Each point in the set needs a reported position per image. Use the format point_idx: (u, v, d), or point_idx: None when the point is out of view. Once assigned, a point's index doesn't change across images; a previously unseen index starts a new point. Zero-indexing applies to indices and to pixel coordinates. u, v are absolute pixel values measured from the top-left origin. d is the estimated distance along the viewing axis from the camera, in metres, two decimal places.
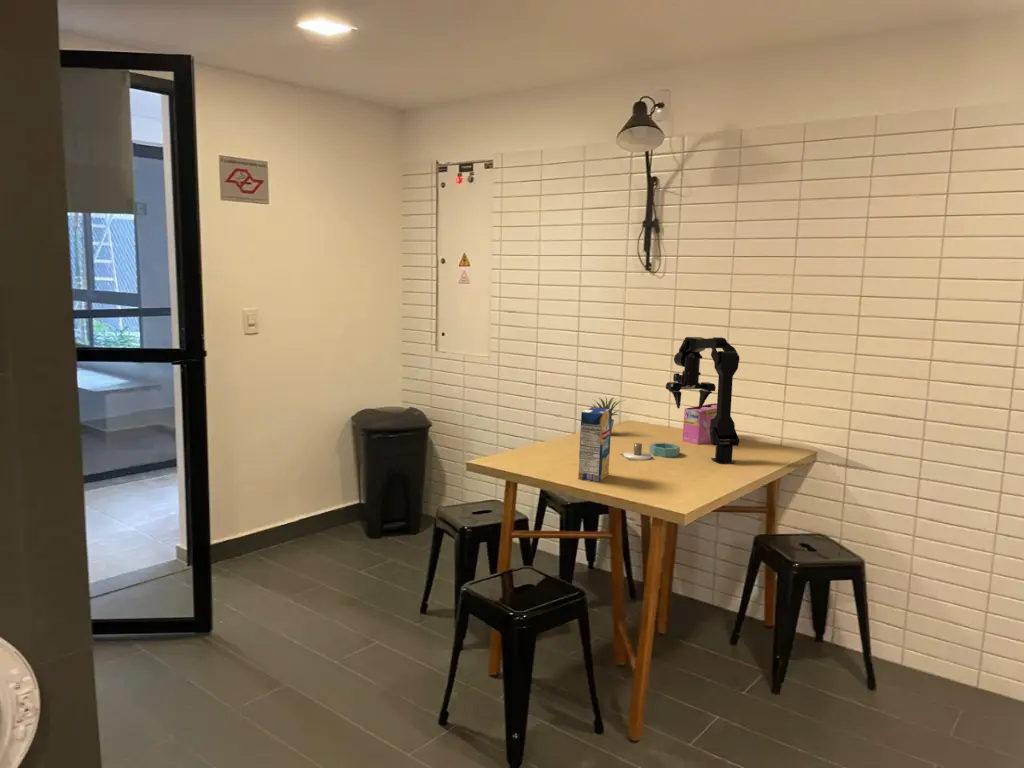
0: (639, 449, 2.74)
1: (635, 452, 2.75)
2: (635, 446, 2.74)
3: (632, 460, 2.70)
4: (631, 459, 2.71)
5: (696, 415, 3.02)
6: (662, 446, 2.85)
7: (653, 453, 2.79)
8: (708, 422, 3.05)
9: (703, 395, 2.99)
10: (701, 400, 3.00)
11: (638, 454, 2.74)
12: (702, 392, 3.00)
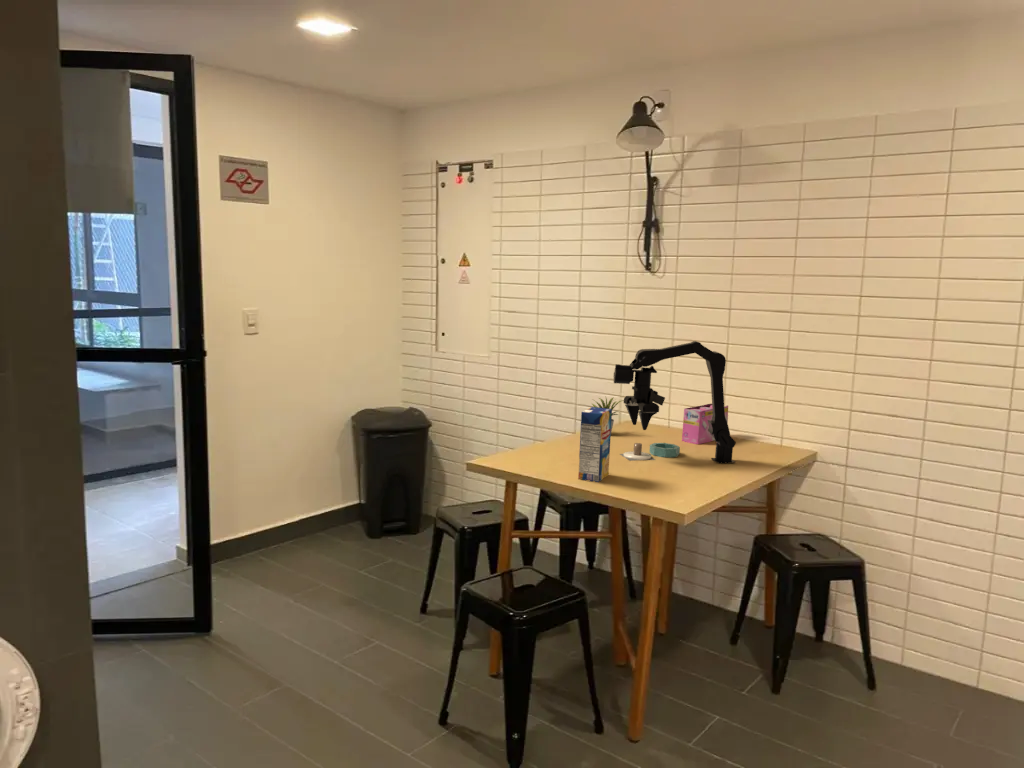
0: (639, 449, 2.74)
1: (635, 452, 2.75)
2: (635, 446, 2.74)
3: (632, 460, 2.70)
4: (631, 459, 2.71)
5: (695, 415, 3.02)
6: (662, 446, 2.85)
7: (653, 453, 2.79)
8: None
9: None
10: None
11: (638, 454, 2.74)
12: None
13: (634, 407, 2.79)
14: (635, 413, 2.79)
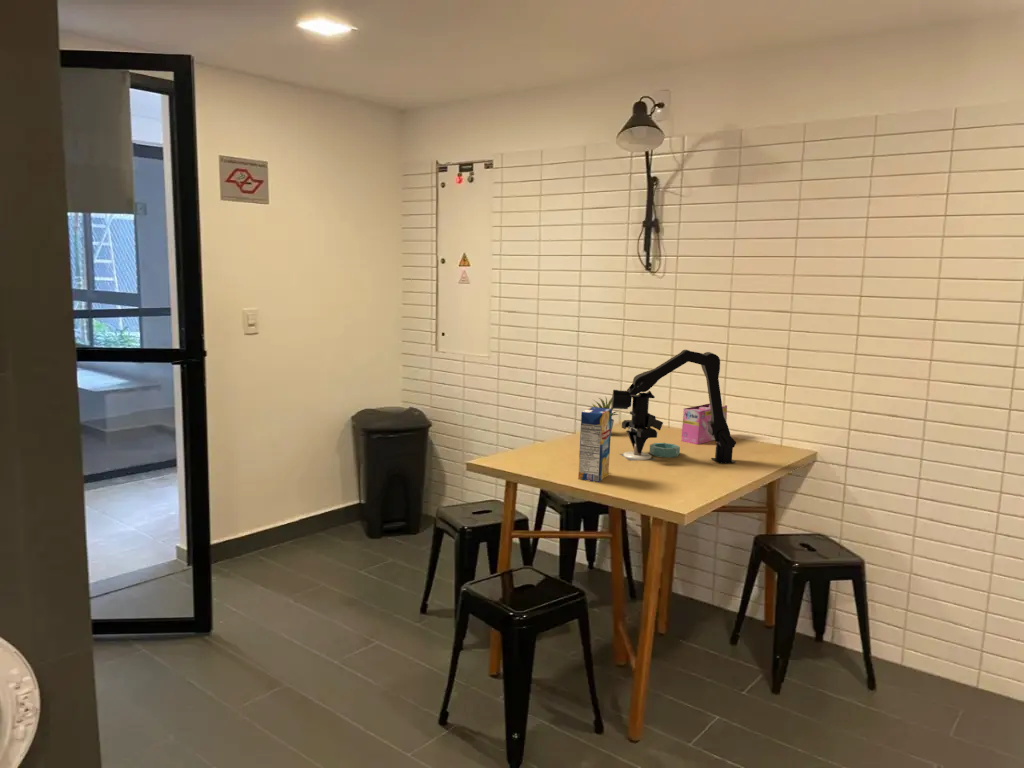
0: None
1: (635, 452, 2.75)
2: (635, 446, 2.74)
3: (632, 460, 2.70)
4: (631, 459, 2.71)
5: (695, 415, 3.02)
6: (662, 446, 2.85)
7: (653, 453, 2.79)
8: None
9: None
10: None
11: (638, 454, 2.74)
12: None
13: (635, 433, 2.77)
14: None
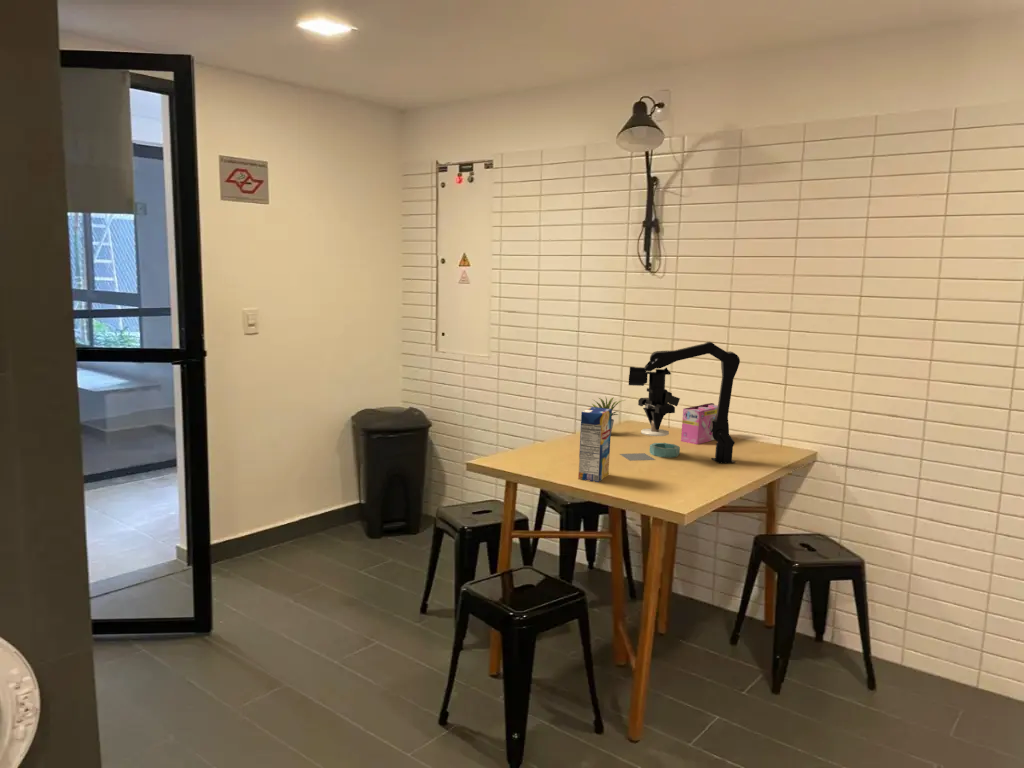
0: None
1: (653, 428, 2.77)
2: (652, 422, 2.76)
3: (632, 460, 2.70)
4: (631, 459, 2.71)
5: (695, 415, 3.02)
6: (662, 446, 2.85)
7: (653, 453, 2.79)
8: (707, 422, 3.06)
9: None
10: None
11: (656, 430, 2.76)
12: None
13: (652, 410, 2.79)
14: None
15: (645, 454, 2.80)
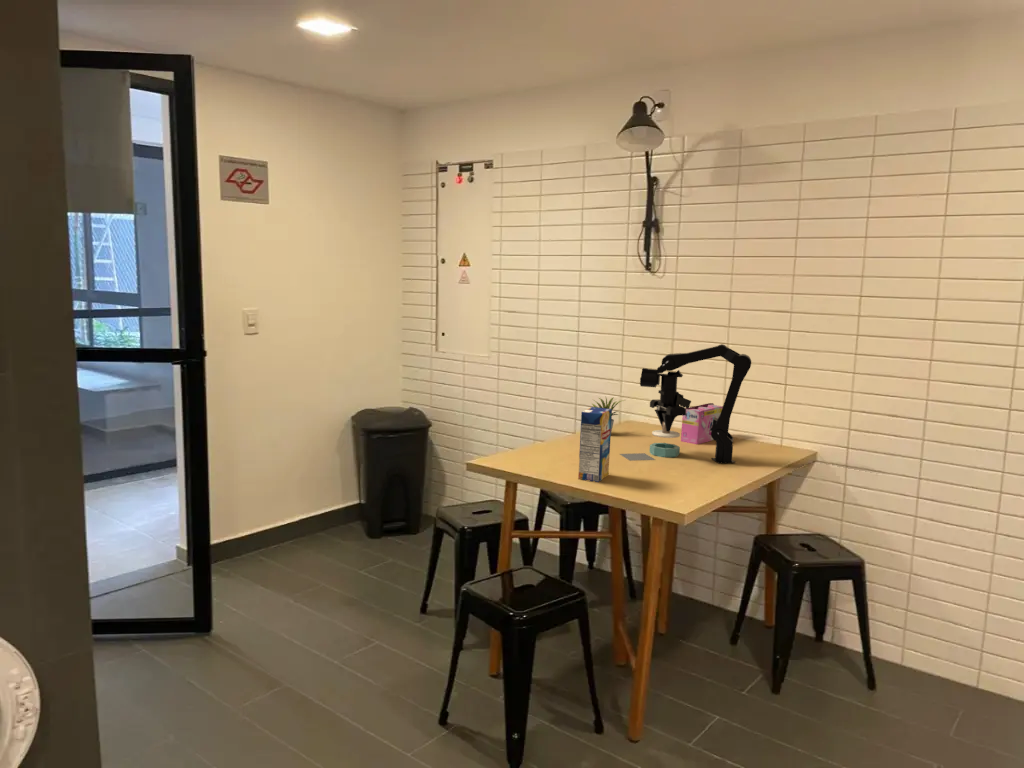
0: None
1: (664, 430, 2.79)
2: (664, 424, 2.79)
3: (632, 460, 2.70)
4: (631, 459, 2.71)
5: (694, 415, 3.02)
6: (662, 446, 2.85)
7: (653, 453, 2.79)
8: (706, 422, 3.06)
9: None
10: None
11: (667, 432, 2.79)
12: None
13: (664, 412, 2.81)
14: None
15: (645, 454, 2.80)
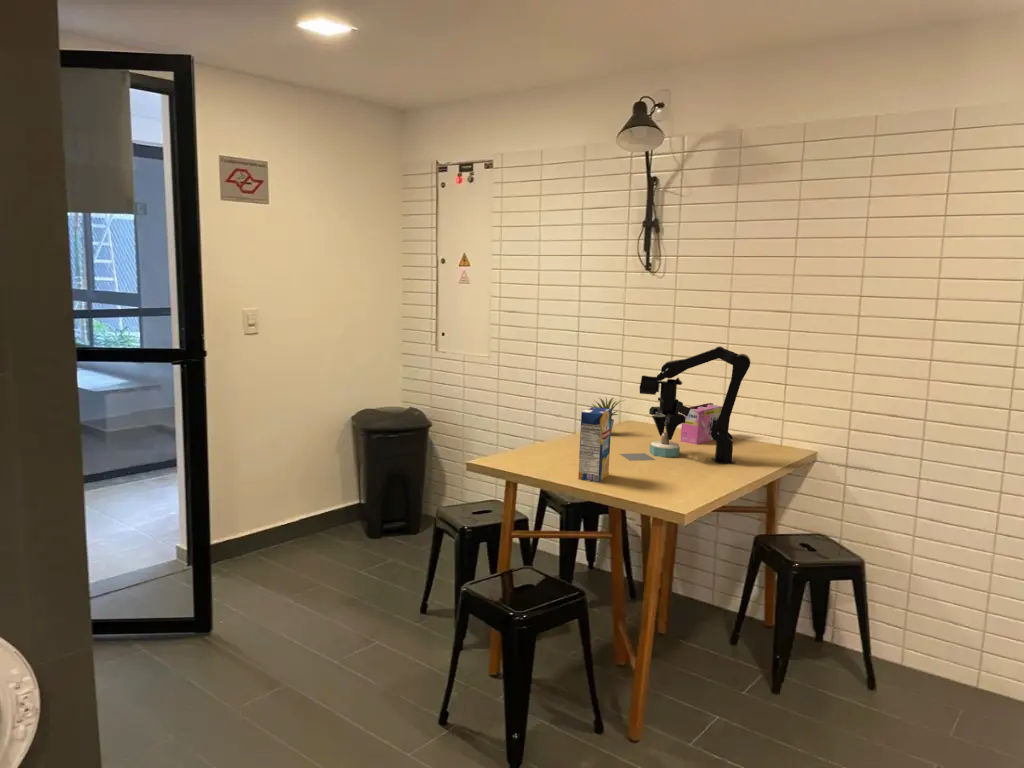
0: (667, 438, 2.79)
1: (663, 441, 2.80)
2: (663, 435, 2.80)
3: (632, 460, 2.70)
4: (631, 459, 2.71)
5: (694, 415, 3.02)
6: None
7: (653, 453, 2.79)
8: (706, 422, 3.06)
9: None
10: None
11: (666, 443, 2.80)
12: None
13: (661, 418, 2.84)
14: (662, 424, 2.84)
15: (645, 454, 2.80)
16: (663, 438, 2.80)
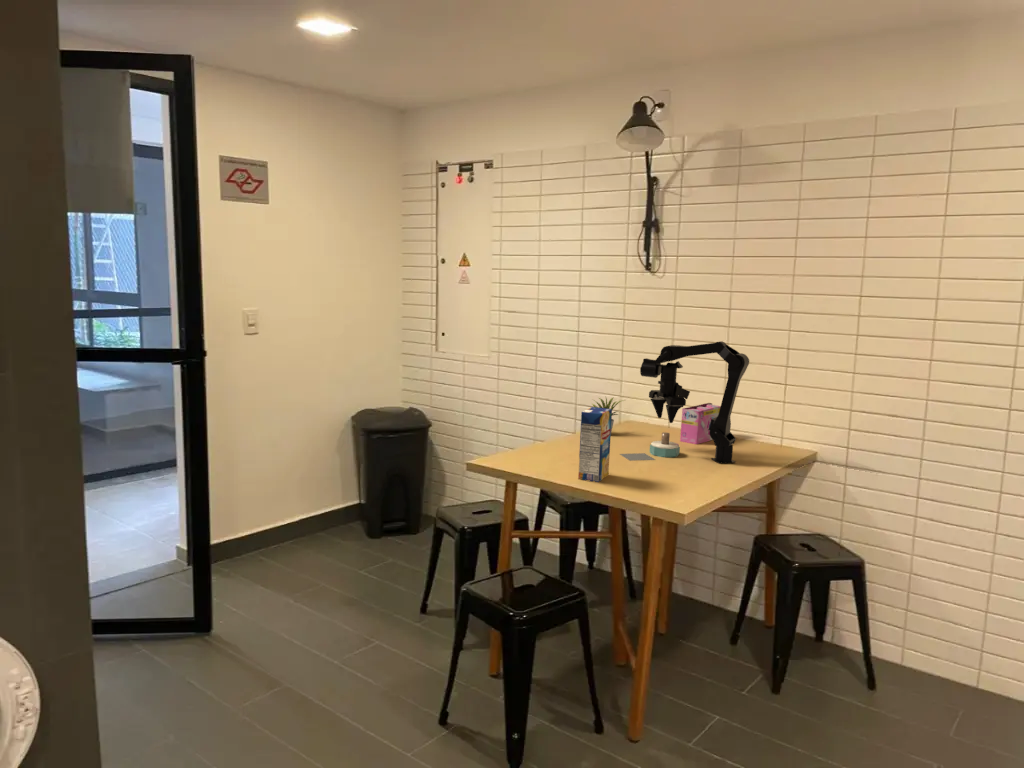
0: (667, 438, 2.79)
1: (663, 441, 2.80)
2: (663, 435, 2.80)
3: (632, 460, 2.70)
4: (631, 459, 2.71)
5: (694, 415, 3.02)
6: None
7: (653, 453, 2.79)
8: (706, 422, 3.06)
9: None
10: None
11: (666, 443, 2.80)
12: None
13: (659, 401, 2.89)
14: (661, 407, 2.89)
15: (645, 454, 2.80)
16: (663, 438, 2.80)
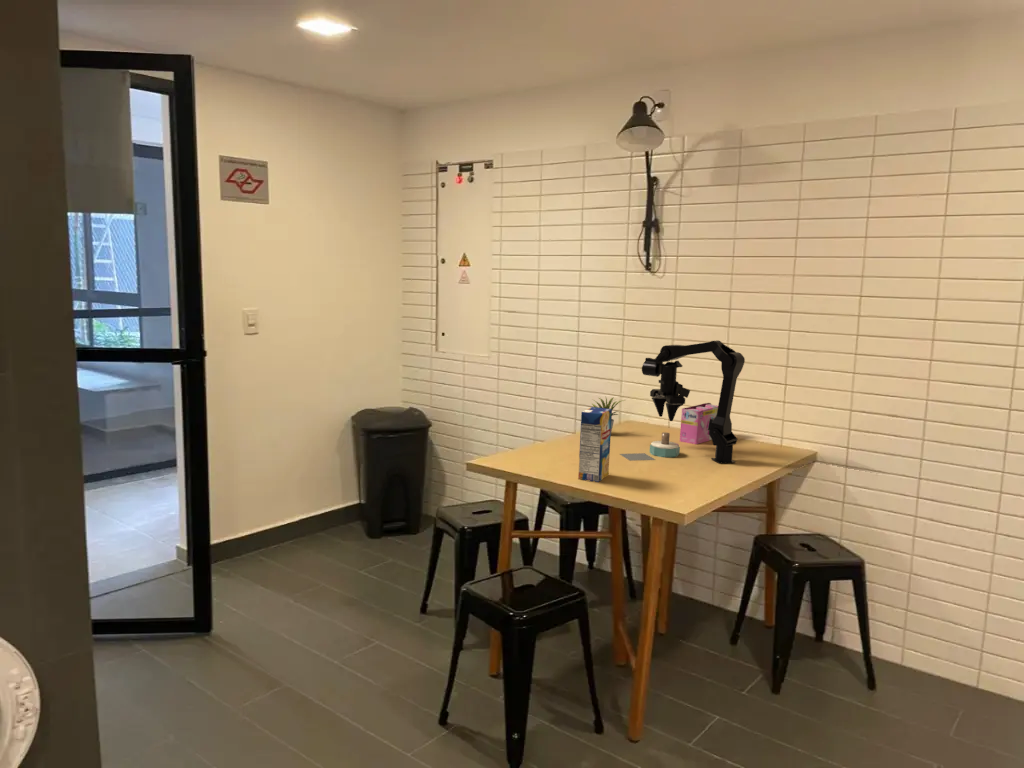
0: (667, 438, 2.79)
1: (663, 441, 2.80)
2: (663, 435, 2.80)
3: (632, 460, 2.70)
4: (631, 459, 2.71)
5: (694, 415, 3.02)
6: None
7: (653, 453, 2.79)
8: (705, 422, 3.06)
9: None
10: None
11: (666, 443, 2.80)
12: None
13: (660, 400, 2.93)
14: (662, 405, 2.94)
15: (645, 454, 2.80)
16: (663, 438, 2.80)
